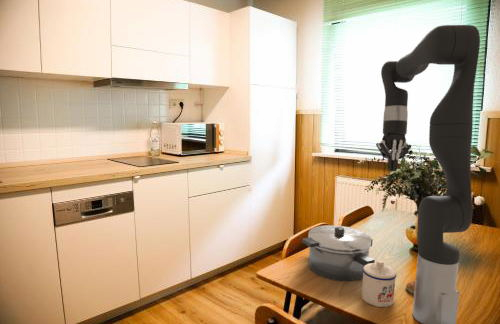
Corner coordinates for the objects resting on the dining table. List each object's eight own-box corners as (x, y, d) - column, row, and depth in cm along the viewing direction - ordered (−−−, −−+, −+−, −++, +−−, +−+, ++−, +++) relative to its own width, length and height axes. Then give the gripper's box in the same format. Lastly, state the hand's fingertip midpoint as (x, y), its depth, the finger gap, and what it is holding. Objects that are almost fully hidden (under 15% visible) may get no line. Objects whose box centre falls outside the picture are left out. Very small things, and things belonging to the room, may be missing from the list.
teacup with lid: (381, 311, 92) (384, 271, 91) (354, 296, 100) (356, 259, 98) (406, 299, 99) (410, 261, 97) (379, 285, 106) (382, 250, 105)
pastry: (408, 296, 101) (409, 284, 100) (403, 285, 107) (404, 274, 107) (443, 300, 99) (444, 288, 98) (435, 289, 105) (436, 277, 105)
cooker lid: (384, 246, 112) (385, 234, 111) (325, 257, 102) (326, 245, 102) (343, 226, 131) (343, 216, 130) (289, 234, 121) (290, 224, 121)
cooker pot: (398, 280, 110) (400, 251, 108) (342, 294, 101) (344, 262, 99) (337, 246, 137) (339, 222, 136) (289, 254, 128) (290, 229, 127)
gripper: (385, 117, 109) (383, 171, 110) (419, 120, 113) (416, 172, 113) (371, 119, 117) (368, 169, 117) (403, 122, 120) (400, 171, 121)
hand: (392, 171), depth 115 cm, fingers closed
